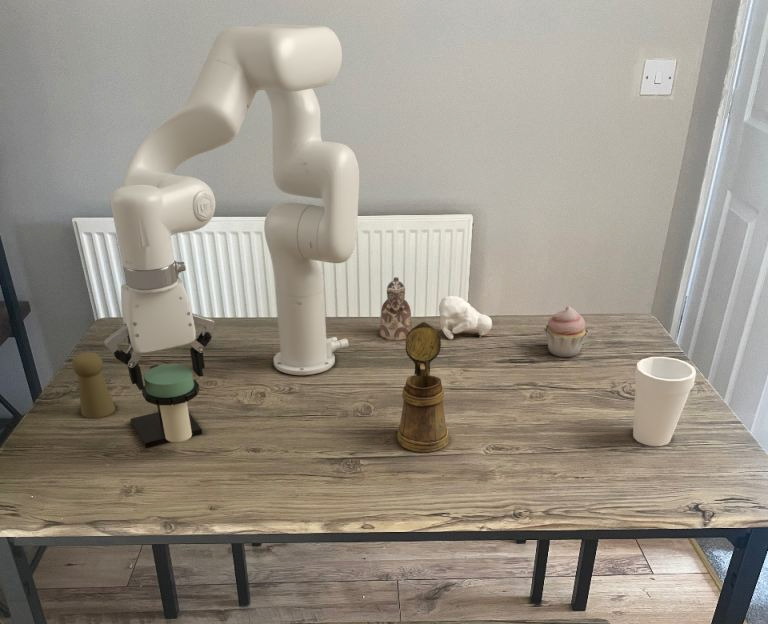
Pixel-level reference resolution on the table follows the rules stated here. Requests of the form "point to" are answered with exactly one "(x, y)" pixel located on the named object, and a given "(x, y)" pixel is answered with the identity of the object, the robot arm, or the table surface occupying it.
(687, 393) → the foam cup
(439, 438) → the wooden mug
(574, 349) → the cupcake
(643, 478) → the table surface
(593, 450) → the table surface
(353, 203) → the robot arm
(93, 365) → the tan pawn
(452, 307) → the white animal statue
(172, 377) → the canister
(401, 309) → the figurine
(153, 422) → the holder
